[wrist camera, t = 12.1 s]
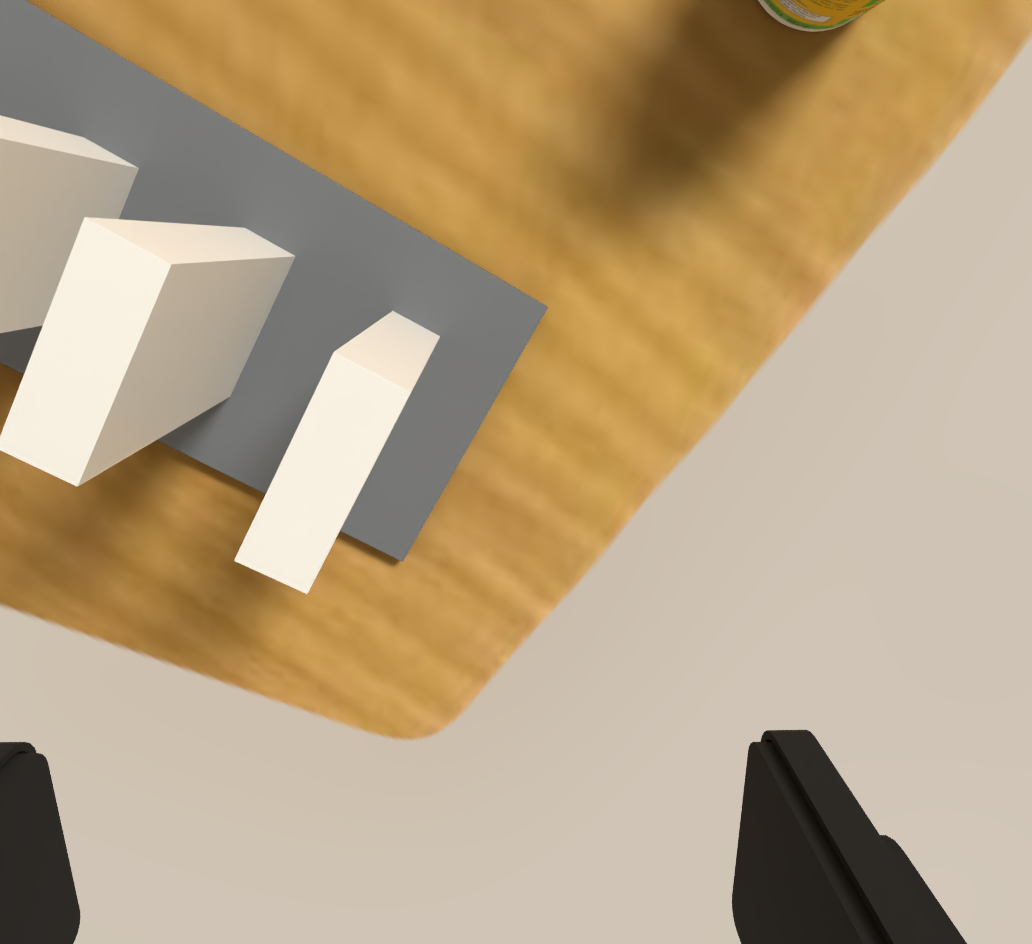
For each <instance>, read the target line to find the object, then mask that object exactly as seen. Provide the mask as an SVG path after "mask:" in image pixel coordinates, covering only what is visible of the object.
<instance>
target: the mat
mask: <svg viewBox="0 0 1032 944" xmlns="http://www.w3.org/2000/svg"><path fill="white" fill-rule="evenodd" d="M0 115H1V116H5V117H8V118H12V119H16V120H20V121H24V122H27V123H31V124H35V125H39V126H43V127H46V128H50V129H54V130H58V131H62V132H65V133H69V134H73V135H77V136H81V137H84V138H86V139H88V140H89V141H91V142H93V143H95V144H96V145H98V146H100V147H102V148H104V149H105V150H107V151H109V152H111V153H113V154H114V155H116V156H118V157H120V158H121V159H123V160H125V161H127V162H129V163H130V164H132V165H134V166H136V167H137V168H139V169H138V172H137V174H136V177H135V179H134V182H133V184H132V187H131V190H130V192H129V195H128V197H127V200H126V202H125V205H124V207H123V210H122V212H121V215H120V217H119V219H121V220H136V221H151V222H166V223H181V224H196V225H211V226H226V227H241V228H246V229H248V230H250V231H252V232H253V233H255V234H257V235H259V236H260V237H262V238H264V239H266V240H268V241H269V242H271V243H273V244H275V245H276V246H278V247H280V248H282V249H284V250H285V251H287V252H289V253H291V254H292V255H294V256H296V257H295V259H294V261H293V263H292V265H291V267H290V269H289V272H288V274H287V276H286V278H285V280H284V282H283V284H282V287H281V289H280V291H279V293H278V295H277V297H276V299H275V302H274V304H273V306H272V308H271V310H270V312H269V314H268V317H267V319H266V321H265V323H264V325H263V327H262V329H261V332H260V334H259V336H258V338H257V340H256V342H255V344H254V347H253V349H252V351H251V353H250V355H249V357H248V359H247V362H246V364H245V366H244V368H243V370H242V372H241V374H240V377H239V379H238V381H237V383H236V385H235V387H234V389H233V392H232V394H231V396H230V397H229V398H227V399H225V400H224V401H222V402H220V403H218V404H217V405H215V406H213V407H212V408H210V409H208V410H207V411H205V412H203V413H202V414H200V415H198V416H196V417H195V418H193V419H191V420H190V421H188V422H186V423H185V424H183V425H181V426H179V427H178V428H176V429H174V430H173V431H171V432H169V433H168V434H166V435H164V436H163V437H161V438H159V439H157V441H159V442H161V443H163V444H165V445H167V446H169V447H172V448H174V449H176V450H178V451H180V452H182V453H184V454H186V455H188V456H190V457H192V458H194V459H196V460H198V461H200V462H202V463H204V464H206V465H208V466H210V467H212V468H214V469H216V470H218V471H220V472H222V473H224V474H226V475H228V476H230V477H232V478H234V479H236V480H238V481H240V482H242V483H244V484H246V485H248V486H250V487H252V488H254V489H256V490H258V491H261V492H263V493H265V494H266V493H267V491H268V489H269V487H270V484H271V482H272V480H273V478H274V476H275V474H276V472H277V470H278V468H279V466H280V463H281V461H282V459H283V457H284V455H285V453H286V451H287V449H288V447H289V445H290V443H291V440H292V438H293V436H294V434H295V432H296V430H297V428H298V426H299V424H300V422H301V419H302V417H303V415H304V413H305V411H306V409H307V407H308V405H309V403H310V401H311V399H312V396H313V394H314V392H315V390H316V388H317V386H318V384H319V382H320V380H321V378H322V375H323V373H324V371H325V369H326V367H327V365H328V363H329V361H330V359H331V357H332V355H333V352H334V351H336V350H337V349H339V348H340V347H342V346H343V345H344V344H346V343H347V342H349V341H350V340H352V339H353V338H354V337H356V336H357V335H359V334H360V333H362V332H363V331H364V330H366V329H367V328H369V327H370V326H372V325H373V324H375V323H376V322H377V321H379V320H380V319H382V318H383V317H385V316H386V315H387V314H389V313H390V312H392V311H394V312H396V313H398V314H400V315H402V316H403V317H405V318H407V319H409V320H411V321H413V322H414V323H416V324H418V325H420V326H422V327H424V328H426V329H427V330H429V331H431V332H433V333H435V334H437V335H438V336H440V338H439V340H438V342H437V344H436V345H435V347H434V349H433V351H432V353H431V355H430V357H429V359H428V361H427V363H426V365H425V367H424V369H423V371H422V373H421V375H420V377H419V379H418V380H417V382H416V384H415V386H414V388H413V390H412V392H411V394H410V396H409V398H408V400H407V402H406V404H405V406H404V408H403V410H402V412H401V413H400V415H399V417H398V419H397V421H396V423H395V425H394V427H393V429H392V431H391V433H390V435H389V437H388V439H387V441H386V443H385V445H384V447H383V448H382V450H381V452H380V454H379V456H378V458H377V460H376V462H375V464H374V466H373V468H372V470H371V472H370V474H369V476H368V478H367V479H366V481H365V483H364V485H363V487H362V489H361V491H360V493H359V495H358V497H357V499H356V501H355V503H354V505H353V507H352V508H351V510H350V512H349V514H348V516H347V518H346V520H345V522H344V524H343V526H342V528H341V530H340V531H341V532H343V533H345V534H347V535H350V536H352V537H354V538H356V539H358V540H360V541H362V542H364V543H366V544H368V545H370V546H372V547H374V548H376V549H378V550H380V551H382V552H384V553H386V554H388V555H390V556H392V557H394V558H396V559H398V560H400V561H402V562H403V560H404V559H405V557H406V555H407V553H408V552H409V550H410V548H411V546H412V545H413V543H414V541H415V539H416V538H417V536H418V534H419V532H420V531H421V529H422V527H423V525H424V524H425V522H426V520H427V518H428V517H429V515H430V513H431V511H432V509H433V508H434V506H435V504H436V502H437V501H438V499H439V497H440V495H441V494H442V492H443V490H444V488H445V487H446V485H447V483H448V481H449V480H450V478H451V476H452V474H453V473H454V471H455V469H456V467H457V466H458V464H459V462H460V460H461V459H462V457H463V455H464V453H465V452H466V450H467V448H468V446H469V445H470V443H471V441H472V439H473V438H474V436H475V434H476V432H477V431H478V429H479V427H480V425H481V424H482V422H483V420H484V418H485V417H486V415H487V413H488V411H489V410H490V408H491V406H492V404H493V402H494V401H495V399H496V397H497V395H498V394H499V392H500V390H501V388H502V387H503V385H504V383H505V381H506V380H507V378H508V376H509V374H510V373H511V371H512V369H513V367H514V366H515V364H516V362H517V360H518V359H519V357H520V355H521V353H522V352H523V350H524V348H525V346H526V345H527V343H528V341H529V339H530V338H531V336H532V334H533V332H534V331H535V329H536V327H537V325H538V324H539V322H540V320H541V318H542V317H543V315H544V313H545V311H546V310H547V308H548V307H547V306H546V305H544V304H542V303H540V302H539V301H537V300H535V299H534V298H532V297H530V296H529V295H527V294H525V293H523V292H522V291H520V290H518V289H517V288H515V287H513V286H512V285H510V284H508V283H506V282H505V281H503V280H501V279H500V278H498V277H496V276H494V275H493V274H491V273H489V272H488V271H486V270H484V269H483V268H481V267H479V266H477V265H476V264H474V263H472V262H471V261H469V260H467V259H466V258H464V257H462V256H460V255H459V254H457V253H455V252H454V251H452V250H450V249H448V248H447V247H445V246H443V245H442V244H440V243H438V242H437V241H435V240H433V239H431V238H430V237H428V236H426V235H425V234H423V233H421V232H420V231H418V230H416V229H414V228H413V227H411V226H409V225H408V224H406V223H404V222H402V221H401V220H399V219H397V218H396V217H394V216H392V215H391V214H389V213H387V212H385V211H384V210H382V209H380V208H379V207H377V206H375V205H374V204H372V203H370V202H368V201H367V200H365V199H363V198H362V197H360V196H358V195H356V194H355V193H353V192H351V191H350V190H348V189H346V188H345V187H343V186H341V185H339V184H338V183H336V182H334V181H333V180H331V179H329V178H328V177H326V176H324V175H322V174H321V173H319V172H317V171H316V170H314V169H312V168H310V167H309V166H307V165H305V164H304V163H302V162H300V161H299V160H297V159H295V158H293V157H292V156H290V155H288V154H287V153H285V152H283V151H282V150H280V149H278V148H276V147H275V146H273V145H271V144H270V143H268V142H266V141H264V140H263V139H261V138H259V137H258V136H256V135H254V134H253V133H251V132H249V131H247V130H246V129H244V128H242V127H241V126H239V125H237V124H236V123H234V122H232V121H230V120H229V119H227V118H225V117H224V116H222V115H220V114H218V113H217V112H215V111H213V110H212V109H210V108H208V107H207V106H205V105H203V104H201V103H200V102H198V101H196V100H195V99H193V98H191V97H190V96H188V95H186V94H184V93H183V92H181V91H179V90H178V89H176V88H174V87H172V86H171V85H169V84H167V83H166V82H164V81H162V80H161V79H159V78H157V77H155V76H154V75H152V74H150V73H149V72H147V71H145V70H144V69H142V68H140V67H138V66H137V65H135V64H133V63H132V62H130V61H128V60H126V59H125V58H123V57H121V56H120V55H118V54H116V53H115V52H113V51H111V50H109V49H108V48H106V47H104V46H103V45H101V44H99V43H98V42H96V41H94V40H92V39H91V38H89V37H87V36H86V35H84V34H82V33H81V32H79V31H77V30H75V29H74V28H72V27H70V26H69V25H67V24H65V23H63V22H62V21H60V20H58V19H57V18H55V17H53V16H52V15H50V14H48V13H46V12H45V11H43V10H41V9H40V8H38V7H36V6H35V5H33V4H31V3H29V2H28V1H26V0H0ZM41 329H42V326H37V327H32V328H26V329H21V330H15V331H10V332H4V333H0V363H2V364H4V365H6V366H8V367H10V368H12V369H14V370H16V371H18V372H20V373H22V374H24V373H25V371H26V368H27V365H28V363H29V360H30V358H31V355H32V352H33V350H34V347H35V345H36V342H37V339H38V337H39V334H40V332H41Z"/></svg>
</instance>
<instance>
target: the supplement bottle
mask: <svg viewBox="0 0 1032 944" xmlns="http://www.w3.org/2000/svg"><path fill="white" fill-rule="evenodd" d="M758 1H759V3H760V4H761V5H762V7H763V8H764V9H765V10H766V11H767V12H768V13H769V14H770V15H771V16H772V17H773V18H775V19H776V20H777V21H779V22H780V23H782V24H784V25H786V26H788V27H791V28H794V29H797V30H802V31H809V32H817V31H826V30H831V29H834V28H837V27H840V26H842V25H845V24H847V23H849V22H850V21H852V20H854V19H856V18H858V17H860V16H861V15H863V14H864V13H866V12H867V11H869V10H871V9H872V8H874V7H875V6H877V5H878V4H880V3H882V2H883V1H885V0H758Z"/></svg>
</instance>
